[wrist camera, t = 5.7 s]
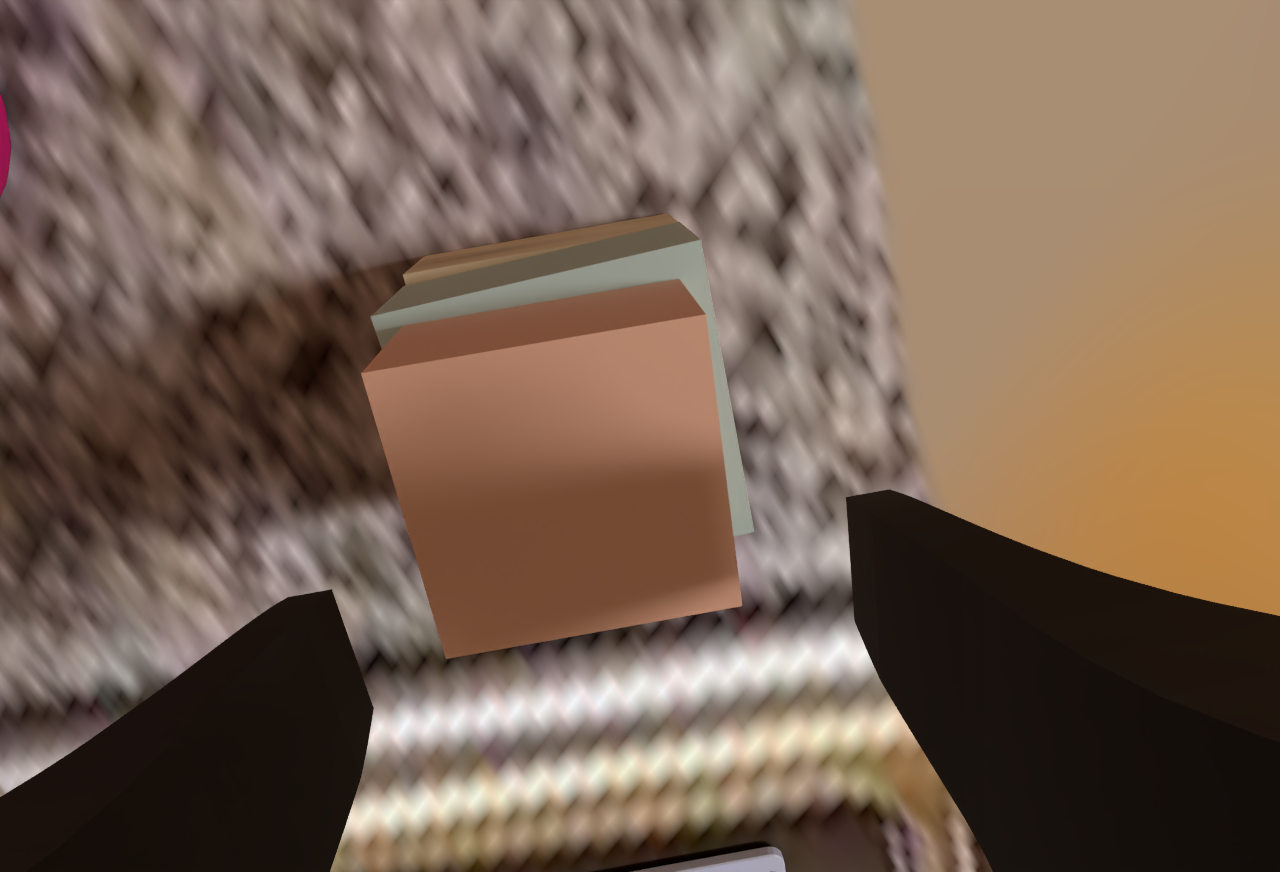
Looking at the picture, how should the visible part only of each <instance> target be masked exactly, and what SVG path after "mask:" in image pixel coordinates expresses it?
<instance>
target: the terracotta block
mask: <svg viewBox="0 0 1280 872" xmlns="http://www.w3.org/2000/svg"><path fill="white" fill-rule="evenodd" d="M361 375H362V378H363V382H364V385H365V388H366V392H367V395H368V398H369V402H370V405H371V409H372V412H373V415H374V419H375V422H376V425H377V429H378V432H379V435H380V439H381V442H382V445H383V449H384V452H385V456H386V459H387V462H388V466H389V469H390V472H391V476H392V479H393V482H394V486H395V489H396V492H397V496H398V499H399V503H400V506H401V509H402V513H403V516H404V519H405V523H406V526H407V529H408V533H409V536H410V539H411V543H412V546H413V550H414V553H415V556H416V560H417V563H418V566H419V570H420V573H421V576H422V580H423V583H424V587H425V590H426V593H427V597H428V600H429V603H430V607H431V610H432V613H433V617H434V620H435V623H436V627H437V630H438V634H439V637H440V640H441V644H442V647H443V650H444V654H445V657H446V659H448V658H454V657H459V656H465V655H470V654H476V653H482V652H487V651H493V650H498V649H504V648H510V647H515V646H521V645H526V644H532V643H538V642H543V641H549V640H555V639H560V638H566V637H571V636H577V635H583V634H588V633H594V632H599V631H605V630H611V629H616V628H622V627H627V626H633V625H639V624H644V623H650V622H655V621H661V620H667V619H672V618H678V617H683V616H689V615H695V614H700V613H706V612H711V611H717V610H723V609H728V608H734V607H740V606H742V600H741V592H740V584H739V576H738V568H737V560H736V552H735V544H734V536H733V528H732V520H731V512H730V504H729V496H728V488H727V479H726V471H725V463H724V455H723V447H722V439H721V431H720V423H719V415H718V407H717V399H716V391H715V383H714V375H713V367H712V359H711V351H710V343H709V335H708V327H707V319H706V314H705V312H704V311H703V310H702V308H701V307H700V306H699V304H698V303H697V302H696V300H695V299H694V298H693V296H692V295H691V294H690V292H689V291H688V290H687V288H686V287H685V286H684V284H683V283H682V282H681V280H680V279H675V280H669V281H663V282H657V283H651V284H645V285H639V286H633V287H628V288H622V289H616V290H610V291H604V292H598V293H592V294H586V295H580V296H575V297H569V298H563V299H557V300H551V301H545V302H539V303H533V304H527V305H521V306H516V307H510V308H504V309H498V310H492V311H486V312H480V313H474V314H468V315H463V316H457V317H451V318H445V319H439V320H433V321H427V322H421V323H415V324H410V325H404V326H402V327H401V329H400V330H399V331H398V332H397V333H396V334H395V335H394V336H393V338H392V339H391V340H390V341H389V342H388V343H387V344H386V346H385V347H384V348H383V349H382V350H381V351H380V352H379V353H378V355H377V356H376V357H375V358H374V359H373V360H372V361H371V362H370V364H369V365H368V366H367V367H366V368H365V369H364V370H363V371H362V373H361Z"/></svg>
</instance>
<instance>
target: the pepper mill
mask: <svg viewBox="0 0 1280 872" xmlns="http://www.w3.org/2000/svg"><path fill="white" fill-rule="evenodd" d="M10 154H11V141H10V133H9V127H8V121H7V115H6V109H5V104H4V102H3V99H2V97H1V94H0V197H1V194H2V192H3V190H4V188H5V185H6V182H7V177H8V171H9V164H10Z"/></svg>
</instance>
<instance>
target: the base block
mask: <svg viewBox="0 0 1280 872" xmlns="http://www.w3.org/2000/svg"><path fill="white" fill-rule="evenodd" d="M676 222H678V221H676V220H675V219H674V218H673V217H671V216H670V215H669V214H668V213H667V214H661V215H655V216H649V217H644V218H638V219H632V220H627V221H621V222H615V223H610V224H604V225H598V226H593V227H587V228H581V229H575V230H570V231H564V232H558V233H553V234H547V235H541V236H536V237H530V238H524V239H518V240H513V241H507V242H501V243H496V244H490V245H484V246H479V247H473V248H467V249H462V250H456V251H450V252H444V253H439V254H433V255H427V256H424V257H423V258H422V259H420V260H419V261H418V262H417V263H416V264H415V265H413V266H412V267H411V268H410V269H409V270H408V271H406V272H405V273H404V274H403V277H404V281H405V284H406V285H410V284H414V283H419V282H423V281H427V280H431V279H436V278H440V277H444V276H449V275H453V274H457V273H462V272H466V271H470V270H474V269H479V268H483V267H487V266H492V265H496V264H500V263H504V262H509V261H513V260H517V259H522V258H526V257H530V256H534V255H539V254H543V253H547V252H552V251H556V250H560V249H565V248H569V247H573V246H577V245H582V244H586V243H590V242H595V241H599V240H603V239H607V238H612V237H616V236H620V235H625V234H629V233H633V232H637V231H642V230H646V229H650V228H655V227H659V226H663V225H668V224H672V223H676Z"/></svg>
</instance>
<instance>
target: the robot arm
mask: <svg viewBox="0 0 1280 872" xmlns="http://www.w3.org/2000/svg"><path fill="white" fill-rule="evenodd" d="M846 503H847V518H848V532H849V547H850V561H851V576H852V590H853V605H854V619H855V623H856V625H857V628H858V630H859V632H860V635H861V637H862V640H863V642H864V644H865V647H866V649H867V651H868V654H869V656H870V658H871V660H872V663H873V665H874V667H875V669H876V671H877V674H878V676H879V678H880V680H881V682H882V684H883V685H884V687H885V689H886V691H887V692H888V694H889V696H890V697H891V699H892V701H893V702H894V704H895V706H896V707H897V709H898V711H899V712H900V714H901V715H902V717H903V719H904V720H905V722H906V724H907V725H908V727H909V729H910V730H911V732H912V734H913V735H914V737H915V738H916V740H917V742H918V743H919V745H920V747H921V748H922V750H923V751H924V753H925V755H926V756H927V758H928V760H929V761H930V763H931V764H932V766H933V768H934V769H935V771H936V773H937V774H938V776H939V777H940V779H941V781H942V782H943V784H944V786H945V787H946V789H947V790H948V792H949V794H950V795H951V797H952V799H953V800H954V802H955V803H956V805H957V807H958V808H959V810H960V812H961V813H962V815H963V816H964V818H965V820H966V822H967V823H968V825H969V827H970V829H971V831H972V832H973V834H974V836H975V838H976V840H977V841H978V843H979V845H980V847H981V848H982V850H983V852H984V854H985V856H986V858H987V860H988V862H989V864H990V866H991V868H992V870H993V872H1280V616H1277V615H1272V614H1268V613H1262V612H1258V611H1253V610H1248V609H1243V608H1238V607H1234V606H1229V605H1224V604H1219V603H1215V602H1210V601H1206V600H1202V599H1197V598H1193V597H1189V596H1185V595H1181V594H1177V593H1173V592H1169V591H1166V590H1163V589H1159V588H1155V587H1152V586H1148V585H1145V584H1141V583H1137V582H1134V581H1130V580H1127V579H1123V578H1120V577H1116V576H1113V575H1110V574H1107V573H1103V572H1100V571H1097V570H1094V569H1090V568H1088V567H1085V566H1082V565H1079V564H1076V563H1074V562H1071V561H1068V560H1065V559H1062V558H1059V557H1057V556H1053V555H1051V554H1048V553H1046V552H1043V551H1040V550H1037V549H1034V548H1032V547H1030V546H1027V545H1024V544H1022V543H1019V542H1017V541H1014V540H1012V539H1009V538H1007V537H1004V536H1002V535H999V534H997V533H994V532H992V531H990V530H987V529H985V528H982V527H980V526H978V525H975V524H973V523H971V522H968V521H966V520H964V519H961V518H959V517H957V516H954V515H952V514H950V513H948V512H945V511H943V510H941V509H938V508H936V507H934V506H931V505H929V504H927V503H924V502H922V501H919V500H917V499H915V498H912V497H910V496H907V495H904V494H902V493H899V492H896V491H892V490H884V491H879V492H873V493H867V494H862V495H856V496H851V497H846ZM373 709H374V708H373V705H372V703H371V700H370V697H369V694H368V691H367V688H366V686H365V683H364V680H363V677H362V674H361V671H360V669H359V666H358V663H357V660H356V657H355V654H354V651H353V649H352V646H351V643H350V640H349V637H348V634H347V632H346V629H345V626H344V623H343V620H342V617H341V615H340V612H339V609H338V606H337V603H336V600H335V598H334V595H333V592H332V590H326V591H321V592H315V593H310V594H304V595H298V596H293V597H288V598H286V599H284V600H282V601H281V602H279V603H277V604H276V605H274V606H272V607H271V608H269V609H268V610H266V611H265V612H263V613H262V614H261V615H259V616H258V617H256V618H255V619H254V620H252V621H251V622H249V623H248V624H247V625H245V626H244V627H243V628H241V629H240V630H239V631H237V632H236V633H235V634H233V635H232V636H231V637H229V638H228V639H227V640H225V641H224V642H223V643H221V644H220V645H219V646H217V647H216V648H215V649H213V650H212V651H211V652H209V653H208V654H207V655H205V656H204V657H203V658H201V659H200V660H199V661H198V662H196V663H195V664H194V665H192V666H191V667H190V668H188V669H187V670H186V671H184V672H183V673H182V674H180V675H179V676H178V677H176V678H175V679H174V680H172V681H171V682H170V683H168V684H167V685H166V686H164V687H163V688H162V689H160V690H159V691H158V692H156V693H155V694H153V695H152V696H151V697H149V698H148V699H146V700H145V701H144V702H142V703H141V704H139V705H138V706H137V707H135V708H134V709H132V710H131V711H130V712H128V713H127V714H125V715H124V716H123V717H121V718H120V719H118V720H117V721H116V722H114V723H113V724H111V725H110V726H109V727H107V728H106V729H104V730H103V731H101V732H100V733H99V734H97V735H96V736H94V737H93V738H92V739H90V740H89V741H87V742H86V743H85V744H83V745H82V746H80V747H79V748H77V749H76V750H74V751H73V752H71V753H70V754H68V755H67V756H65V757H64V758H62V759H60V760H59V761H57V762H56V763H54V764H53V765H51V766H50V767H48V768H47V769H45V770H44V771H42V772H40V773H39V774H37V775H36V776H34V777H32V778H31V779H29V780H27V781H26V782H24V783H23V784H21V785H19V786H18V787H16V788H14V789H13V790H11V791H10V792H8V793H6V794H5V795H3V796H1V797H0V872H330V870H331V867H332V864H333V861H334V858H335V855H336V852H337V849H338V846H339V843H340V840H341V837H342V834H343V831H344V828H345V825H346V822H347V819H348V816H349V813H350V810H351V807H352V804H353V801H354V798H355V795H356V791H357V788H358V785H359V782H360V779H361V775H362V770H363V765H364V760H365V755H366V750H367V745H368V739H369V733H370V727H371V721H372V715H373ZM771 871H772V872H786V871H785V863H784V859H783V856H782V853H781V851H780V850H779V849H777V848H775V847H763V848H757V849H752V850H746V851H741V852H735V853H730V854H724V855H719V856H713V857H708V858H702V859H697V860H692V861H686V862H681V863H675V864H670V865H664V866H659V867H653V868H648V869H642V870H637V871H631V872H771Z"/></svg>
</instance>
